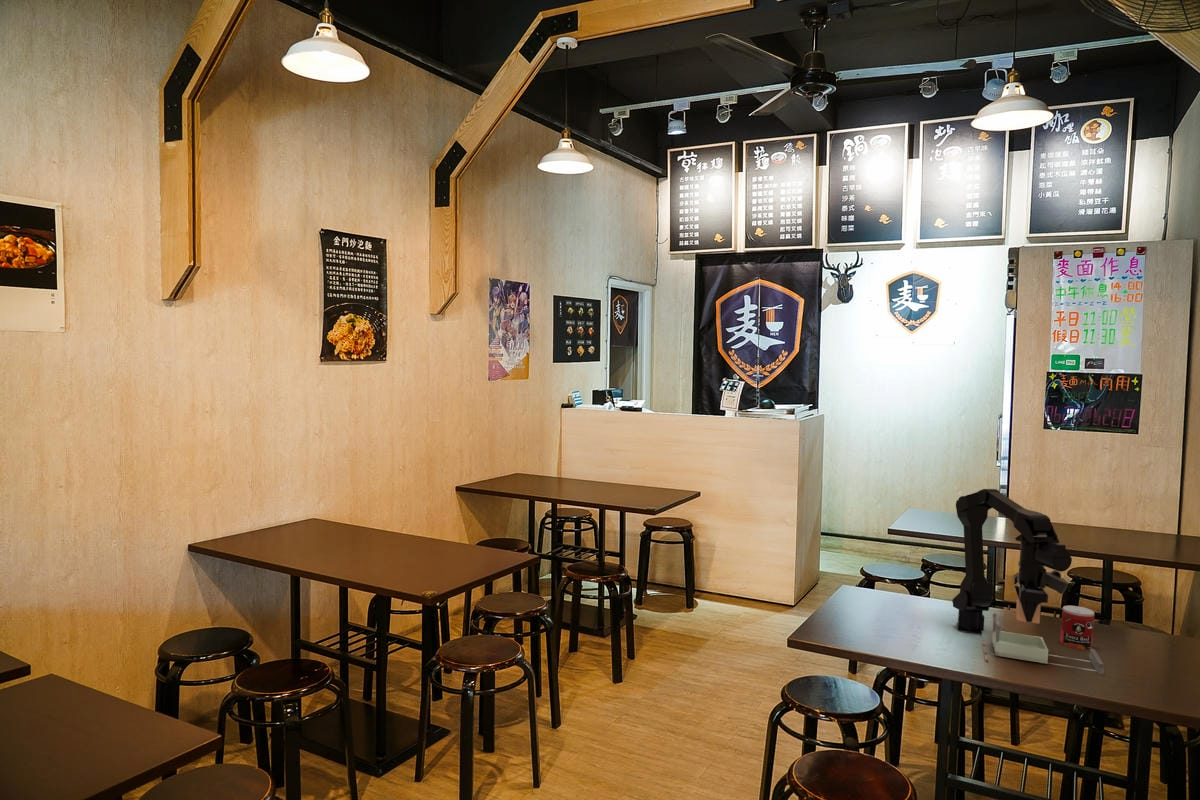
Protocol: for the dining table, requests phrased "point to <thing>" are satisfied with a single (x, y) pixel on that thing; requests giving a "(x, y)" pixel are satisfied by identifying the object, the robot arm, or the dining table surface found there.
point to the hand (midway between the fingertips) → (1027, 618)
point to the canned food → (1077, 627)
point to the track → (1092, 656)
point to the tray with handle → (1018, 645)
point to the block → (1021, 616)
